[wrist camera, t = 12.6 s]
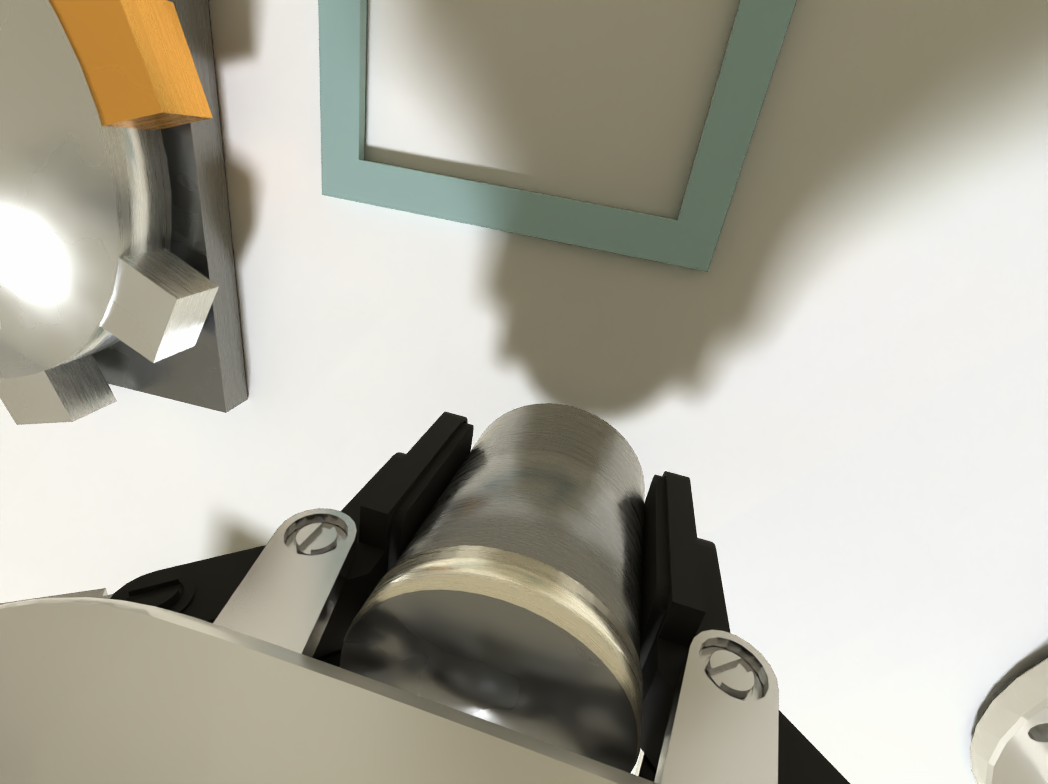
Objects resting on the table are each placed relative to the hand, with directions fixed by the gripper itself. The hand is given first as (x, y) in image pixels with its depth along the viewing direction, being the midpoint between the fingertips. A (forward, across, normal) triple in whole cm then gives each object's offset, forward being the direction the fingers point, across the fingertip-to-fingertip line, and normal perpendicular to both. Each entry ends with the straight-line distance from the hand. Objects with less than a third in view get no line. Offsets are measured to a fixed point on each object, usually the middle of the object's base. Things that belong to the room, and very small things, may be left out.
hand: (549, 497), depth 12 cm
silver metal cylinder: (+1, 0, 0) cm, 1 cm away
